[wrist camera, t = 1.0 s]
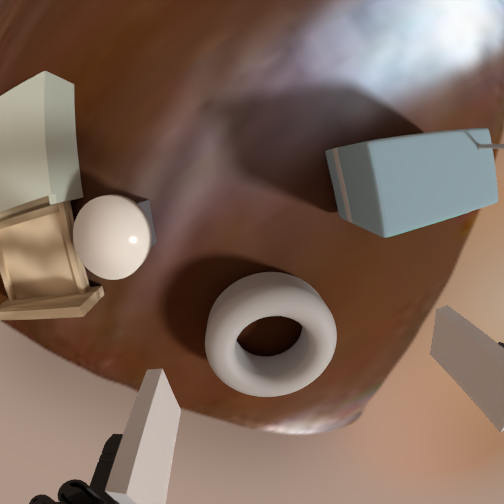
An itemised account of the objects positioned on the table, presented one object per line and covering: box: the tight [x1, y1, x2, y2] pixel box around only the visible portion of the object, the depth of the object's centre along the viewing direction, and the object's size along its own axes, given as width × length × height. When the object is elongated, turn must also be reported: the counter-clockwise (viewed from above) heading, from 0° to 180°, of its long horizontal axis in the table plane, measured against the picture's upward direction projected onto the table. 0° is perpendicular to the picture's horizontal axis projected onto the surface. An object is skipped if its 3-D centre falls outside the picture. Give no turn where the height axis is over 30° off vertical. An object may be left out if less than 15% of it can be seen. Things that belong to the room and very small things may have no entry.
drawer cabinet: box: [0, 71, 83, 212], centre depth 25 cm, size 15×18×7 cm
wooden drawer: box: [0, 196, 104, 320], centre depth 29 cm, size 16×18×6 cm
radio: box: [325, 128, 504, 237], centre depth 23 cm, size 16×9×20 cm, turn 105°
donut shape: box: [205, 272, 337, 397], centre depth 33 cm, size 15×15×7 cm
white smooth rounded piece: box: [73, 194, 152, 280], centre depth 26 cm, size 8×8×2 cm
